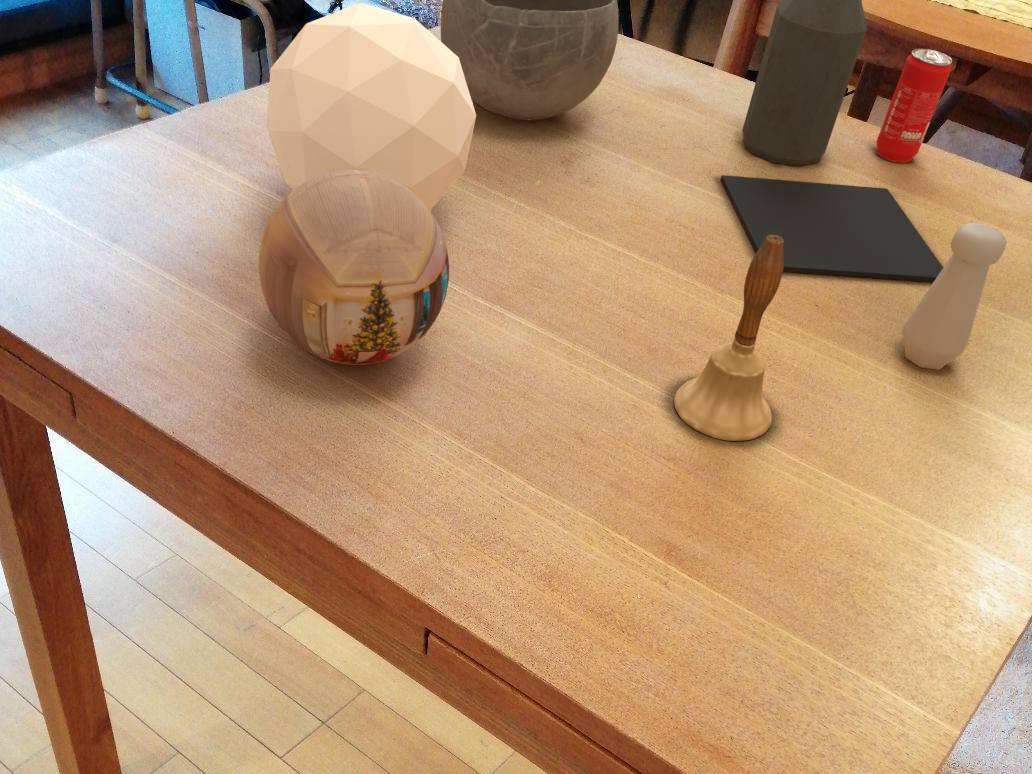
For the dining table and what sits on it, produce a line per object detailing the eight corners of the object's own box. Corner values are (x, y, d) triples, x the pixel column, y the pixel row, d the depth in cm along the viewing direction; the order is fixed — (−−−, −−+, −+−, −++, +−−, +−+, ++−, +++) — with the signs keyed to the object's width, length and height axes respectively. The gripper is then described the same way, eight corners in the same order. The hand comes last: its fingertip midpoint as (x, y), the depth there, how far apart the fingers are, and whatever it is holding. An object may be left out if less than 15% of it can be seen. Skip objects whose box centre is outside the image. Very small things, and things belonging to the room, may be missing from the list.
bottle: (784, 126, 138) (868, -146, 117) (839, 160, 132) (937, -120, 112) (723, 136, 133) (799, -145, 113) (777, 172, 128) (867, -118, 107)
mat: (885, 193, 127) (887, 188, 127) (949, 283, 113) (951, 278, 112) (720, 179, 124) (721, 174, 124) (764, 270, 110) (766, 265, 110)
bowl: (440, 65, 139) (451, -64, 129) (598, 87, 140) (622, -39, 130) (427, 132, 124) (438, -8, 114) (604, 156, 125) (631, 19, 115)
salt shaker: (881, 342, 103) (936, 215, 94) (930, 336, 105) (988, 211, 96) (919, 378, 99) (980, 249, 90) (968, 371, 101) (1033, 244, 92)
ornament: (395, 423, 85) (407, 250, 75) (226, 366, 88) (215, 191, 78) (467, 332, 96) (487, 169, 85) (315, 283, 98) (316, 120, 88)
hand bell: (726, 453, 87) (786, 278, 76) (653, 399, 92) (700, 225, 81) (791, 421, 92) (856, 250, 81) (718, 371, 96) (771, 202, 85)
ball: (404, 292, 112) (473, 204, 94) (218, 204, 106) (252, 91, 88) (459, 142, 117) (533, 31, 99) (284, 50, 112) (330, -86, 93)
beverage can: (873, 158, 134) (910, 59, 126) (872, 142, 138) (908, 44, 129) (915, 167, 134) (955, 68, 125) (913, 151, 137) (952, 53, 129)
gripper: (1257, -216, 69) (1118, 59, 81) (1128, -262, 82) (1023, -17, 93) (1148, -232, 68) (1024, 48, 80) (1034, -276, 81) (941, -27, 92)
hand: (1024, 13), depth 87 cm, fingers open, 9 cm apart
